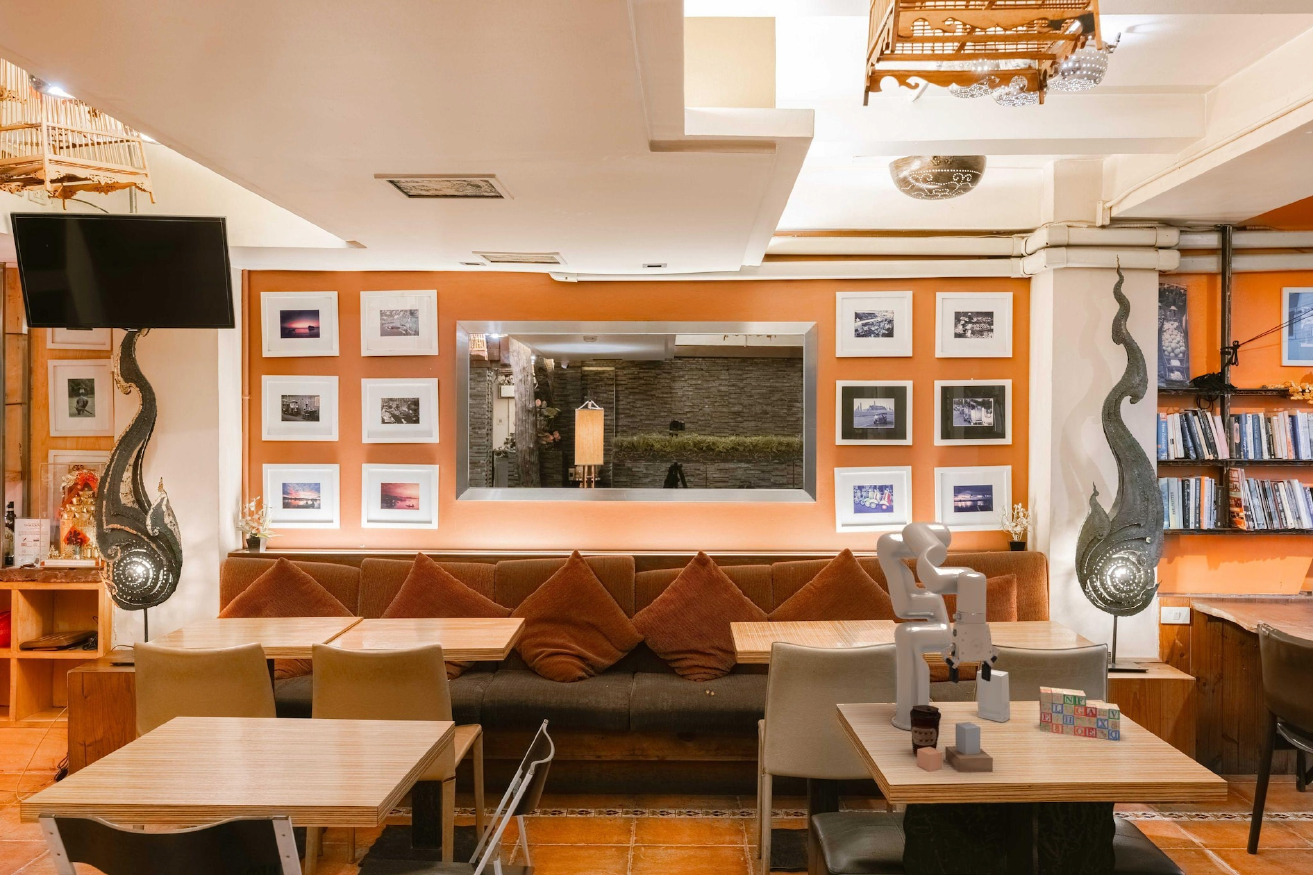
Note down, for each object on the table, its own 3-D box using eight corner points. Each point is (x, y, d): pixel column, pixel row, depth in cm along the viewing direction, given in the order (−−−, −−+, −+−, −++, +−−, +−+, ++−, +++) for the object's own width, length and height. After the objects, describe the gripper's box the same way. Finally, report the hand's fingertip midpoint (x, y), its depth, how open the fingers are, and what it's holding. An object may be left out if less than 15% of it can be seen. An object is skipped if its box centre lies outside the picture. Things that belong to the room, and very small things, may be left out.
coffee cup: (940, 762, 229) (940, 714, 229) (908, 757, 232) (908, 710, 232) (941, 751, 237) (941, 705, 238) (910, 747, 240) (910, 701, 240)
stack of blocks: (1117, 734, 254) (1117, 693, 254) (1120, 741, 248) (1120, 699, 248) (1039, 725, 262) (1039, 685, 262) (1040, 731, 256) (1040, 690, 256)
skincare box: (1010, 719, 267) (1010, 672, 267) (1002, 723, 263) (1002, 675, 263) (984, 713, 273) (984, 667, 273) (976, 717, 269) (976, 670, 269)
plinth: (945, 761, 231) (945, 746, 231) (977, 760, 232) (977, 745, 232) (959, 773, 222) (959, 758, 222) (992, 773, 223) (992, 757, 223)
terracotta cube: (917, 765, 226) (917, 749, 227) (929, 763, 229) (929, 746, 229) (929, 771, 223) (930, 754, 223) (942, 768, 225) (942, 751, 225)
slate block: (955, 749, 229) (955, 723, 229) (969, 747, 230) (969, 722, 231) (965, 754, 225) (965, 728, 225) (980, 753, 226) (980, 727, 226)
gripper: (950, 621, 223) (949, 686, 223) (1007, 619, 227) (1006, 683, 227) (934, 615, 230) (933, 678, 230) (990, 613, 234) (989, 675, 234)
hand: (970, 680), depth 228 cm, fingers open, 9 cm apart
